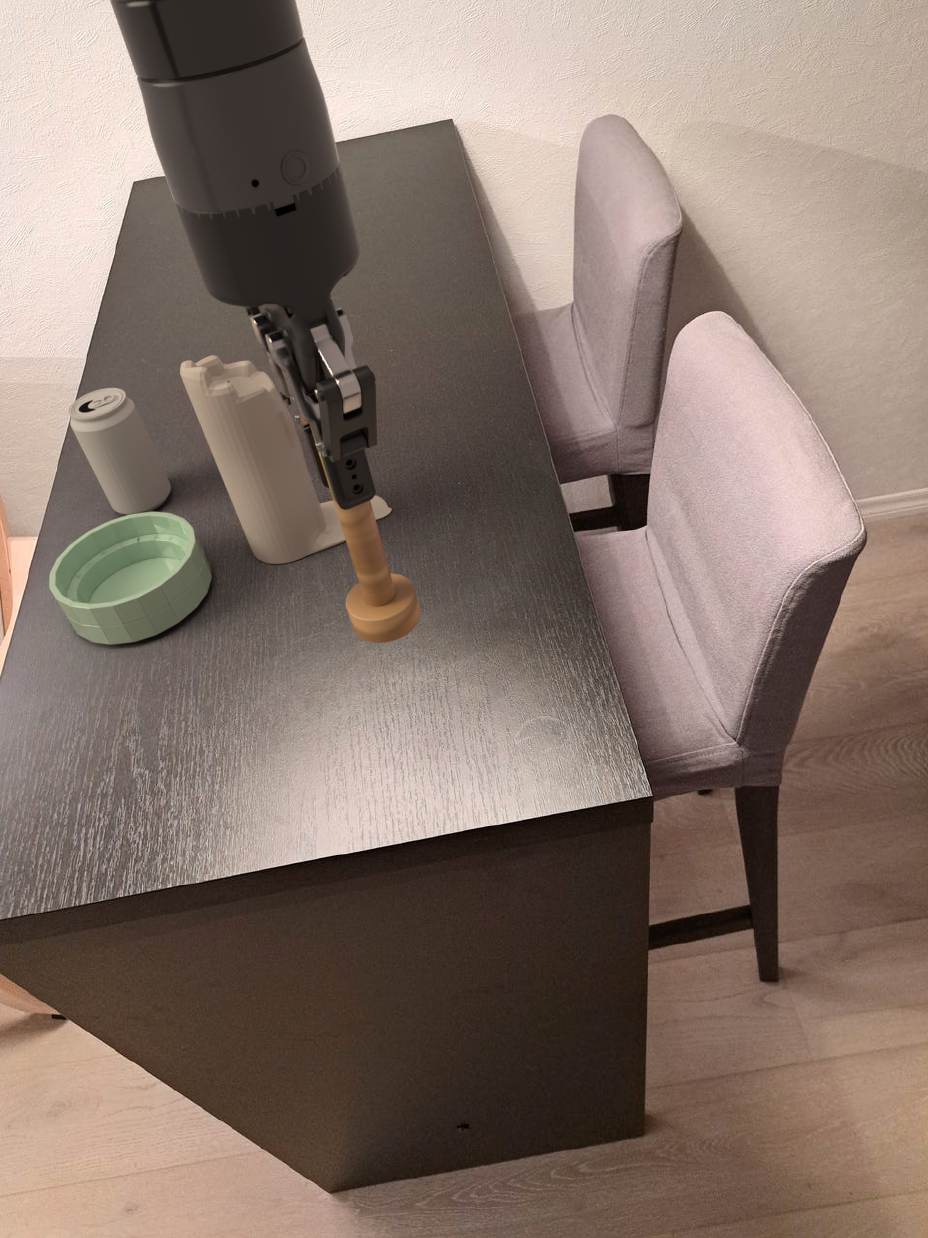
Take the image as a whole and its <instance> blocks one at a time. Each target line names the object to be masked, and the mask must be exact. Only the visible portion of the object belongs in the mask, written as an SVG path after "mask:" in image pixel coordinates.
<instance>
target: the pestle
mask: <svg viewBox="0 0 928 1238" xmlns="http://www.w3.org/2000/svg"><path fill="white" fill-rule="evenodd" d="M310 427H311V426H310ZM311 430H312V429H311ZM312 433H313V432H312ZM313 436H314V435H313ZM314 440H315V438H314ZM315 443H316V441H315ZM319 456H320V459H321V462H322V465H323V469H324V472H325V475H326V478H327V481H328V485H329V488H328V489H329V491H330V494H331V497H332V501H334V504H335V507H336V510H337V514H338V517H339V520H340V523H341V526H342V530H343V533H344V536H345V539H346V541H345V542H346V545H347V549H348V552H349V556H350V559H351V562H352V565H353V568H354V572H355V574H356V577H357V581H358V582H357V583H356V584H354V586H353V587H352V588H350V589H349V592H348V593H347V596H346V599H345V608H346V612H347V614H348V618H349V621H350V623H351V626H352V629H353V631H354V633H355V634H356V636H358V638H360V639H361V640H363V641H366V642H369V643H373V644H385V643H392V642H394V641H398V640H400V639H401V638H404V637H405V636H407V635H409V634H410V633H411V632H412V631H413V630H414V629H415V628H416V627H417V626H418V623H419V622H420V619H421V614H422V613H421V612H422V611H421V608H420V603H419V600H418V596H417V592H416V588H415V585H414V584H413V582H412V581H411V580H410V579H409V578H407V577H406V576H404V575H401V574H399V573H398V574H397V573H392V572H391V571H390V566H389V563H388V559H387V556H386V551H385V549H384V546H383V541H382V538H381V534H380V531H379V527H378V523H377V520H375V516H374V512H373V509H372V505H371V502H370V501H368V502H365V503H363V504H360V505H358V506H356V507H353V508H351V509H348V510H343V509H341V508H340V507H339V505H338V504H337V502H336V501H335V499H334V496H333V492H332V489H331V486H330V483H329V480H328V476H327V473H326V470H325V467H324V463H323V460H322V457H321V454H320V452H319Z"/></svg>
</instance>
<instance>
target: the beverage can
mask: <svg viewBox="0 0 928 1238" xmlns="http://www.w3.org/2000/svg"><path fill="white" fill-rule="evenodd" d="M68 414H69V416H70V422H69V423H70V424H69V425H70V428H71V430H72V431H73V433H74V435H75V437H76V439H77V441H78V444H79V445H80V448H81V449H82V451H83V453H84V455H85V457H86V460H87V461H88V463H89V465H90V467H91V469H92V471H93V473H94V475H95V477H96V479H97V481H98V482H99V485H100V486H101V488H102V490H103V492H104V494H105V496H106V498H107V500H108V503H109V504H110V506H111V508H112V510H113V511H115V512H116V513H118V514H121V515H125V516H127V515H130V514H137V513H145V512H154V510H156V509H158V508H159V507H161V506H162V505H163V504H164V503H165V502H166V501H167V498H168V497H169V495H170V494H171V491H172V485H171V483H170V480H169V478H168V475H167V473H166V472H165V469H164V466H163V465H162V462H161V460H160V458H159V456H158V454H157V452H156V449H155V447H154V444H153V442H152V440H151V438H150V435H149V433H148V431H147V429H146V427H145V424H144V422H143V419H142V418H141V415H140V413H139V410H138V409H137V406H136V404H135V402H134V401H133V400H132V399H131V398H129V397H128V396H127V394H126V391H124V390H123V389H122V388H119V387H118V388H117V387H106V388H101V389H96V390H93V391H91V392H88V393H86V394H84V395H82V396H80V397H78V398H77V399H76V400H75V401H73V403H71V405H70V406H69V408H68Z"/></svg>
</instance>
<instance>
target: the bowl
mask: <svg viewBox="0 0 928 1238" xmlns="http://www.w3.org/2000/svg"><path fill="white" fill-rule="evenodd" d="M202 546H203V545H202V544H201V542H200V539H199V537H198V535H197V533H196V531H195V528H194V527H193V526H192V525H191V524H190V523H189V522H188V521H187V520H186V519H185V518H183V517H181V516H179V515H176V514H174V513H171V512H166V511H165V512H164V511H150V512H145V513H137V514H130V515H124V516H120V517H118V518H114V519H110V520H109V521H106V522H105V523H102V524H100V525H98V526H96V527H94V528H92V529H90V530H88V531H87V532H85V533H84V534H83V535H81V536H80V537H79V538H77V539H75V540H73V542H71V543H70V544H69V545H68V546H67V547H66V548H65V549H64V551H63V552H62V553H61V554H60V555H59V556H58V557H57V558H56V560H55V562H54V564H53V566H52V568H51V570H50V572H49V578H48V579H49V581H48V589H49V590H50V592H51V593H52V595H53V597H54V599H55V600H56V602H57V603H58V605H59V606H60V608H61V610H62V611H63V613H64V615H65V616H66V618H67V620H68V621H69V623H70V624H71V626H72V628H73V630H74V631H75V632H76V634H77V635H78V636H80V637H81V638H84V639H85V640H87V641H89V642H91V643H94V644H95V643H96V644H103V645H109V646H113V645H122V644H130V643H136V642H139V641H142V640H145V639H148V638H151V637H155V636H157V635H159V634H161V633H163V632H165V631H167V630H168V629H170V628H172V627H174V626H175V625H177V624H179V623H180V622H181V621H182V620H184V619H185V618H186V617H188V615H190V614H191V613H192V612H193V611H195V609H197V608H198V606H199V605H200V604H201V602H202V601H203V599H205V597H206V595H207V594H208V592H209V589H210V586H211V582H212V578H213V575H212V570H211V569H212V568H211V564H210V562H209V560H208V558H207V555H206V553H205V551H204V549H203V547H202Z"/></svg>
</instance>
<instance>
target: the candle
mask: <svg viewBox="0 0 928 1238" xmlns="http://www.w3.org/2000/svg"><path fill="white" fill-rule="evenodd" d="M179 374H180V378H181V380H182V383H183V385H184V387H185V390H186V392H187V395H188V397H189V400H190V403H191V405H192V407H193V409H194V412H195V415H196V418H197V419H198V420H197V421H198V422H199V425H200V427H201V429H202V432H203V435H204V437H205V439H206V442H207V444H208V446H209V449H210V452H211V454H212V456H213V459H214V461H215V464H216V466H217V470H218V471H219V474H220V476H221V478H222V481H223V483H224V486H225V488H226V491H227V493H228V496H229V498H230V501H231V503H232V505H233V508H234V510H235V513H236V516H237V518H238V520H239V522H240V523H239V524H240V525H241V527H242V530H243V532H244V535H245V538H246V539H247V543H248V544H249V547H250V550H251V552H252V554H253V557H255V558H256V559H257V560H259V561H260V562H262V563H266V564H271V565H281V564H289V563H292V562H295V561H298V560H300V559H304V558H305V557H308V556H309V555H310V556H311V555H312V554H315V553H318V552H321V551H323V550H326V549H329V548H331V547H334V546H336V545H340V544H341V543H344V542H346V539H345V536H344V533H343V530H342V526H341V523H340V520H339V517H338V514H337V510H336V507H335V504H334V501H333V500H329V501H325V502H321V503H320V502H319V498H318V495H317V492H316V488H315V486H314V483H313V480H312V477H311V474H310V472H309V469H308V465H307V463H306V462H307V461H306V459H305V454H304V449H303V447H302V444H301V440H300V437H299V434H298V431H297V428H296V426H295V423H294V419H293V418H292V415H291V414H290V411H289V410H288V408H287V406H286V403H284V401H283V399H282V397H281V395H280V392H278V389H277V386H276V384H275V382H274V381H273V380H272V378H271V377H270V376H269V375H268V374H267V373H266V372H264V371H260V370H257V368H256V366H255V364H254V363H252V361H250V360H240V361H236V362H232V363H223V362H222V360H221V359H220V357H219V356H218V355H212V354H211V355H209V356H206V357H204V358H202V359H200V360H199V361H197V362H196V363H195V362H194V361H193V360H190V359H187V360H184V361H183V362H181V364H180V369H179ZM370 502H371V505H372V509H373V512H374V516H375V520H376V521H378V520H380V519H383V518H384V517H387V516H388V515H390V513H391V512H392V507H389V506H388V504H387V502H386V501H385V499H383V498H382V497H380V496H378V495H376V494H375V496H374V498H373V499H371V500H370Z"/></svg>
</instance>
